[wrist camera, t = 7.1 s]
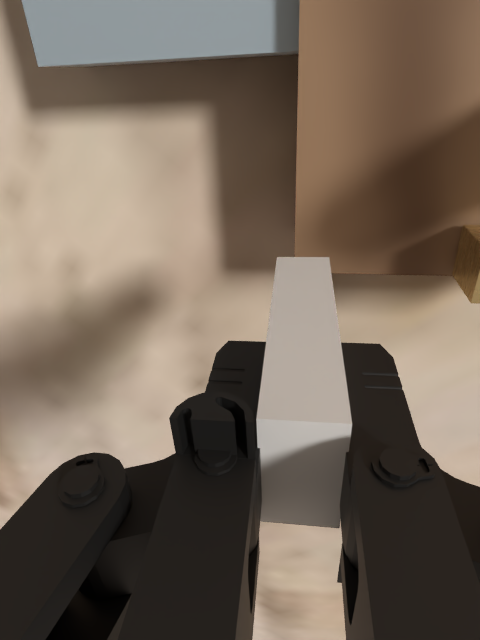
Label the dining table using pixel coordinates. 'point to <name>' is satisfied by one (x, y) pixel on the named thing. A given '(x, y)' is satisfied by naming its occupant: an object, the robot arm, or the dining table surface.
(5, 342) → the dining table surface
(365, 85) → the socket block
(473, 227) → the tan rectangular bar
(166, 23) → the grey square holed block
